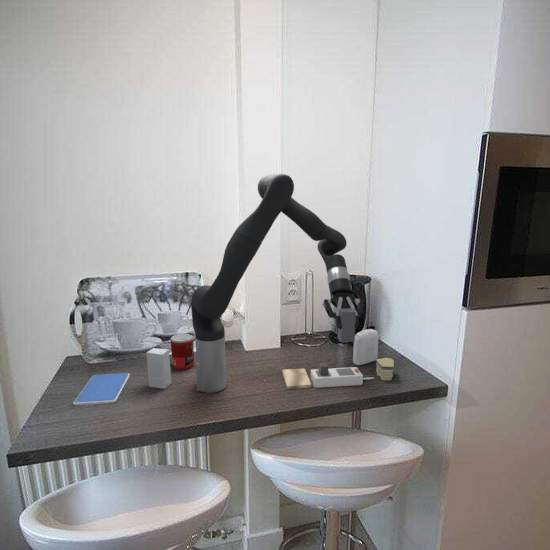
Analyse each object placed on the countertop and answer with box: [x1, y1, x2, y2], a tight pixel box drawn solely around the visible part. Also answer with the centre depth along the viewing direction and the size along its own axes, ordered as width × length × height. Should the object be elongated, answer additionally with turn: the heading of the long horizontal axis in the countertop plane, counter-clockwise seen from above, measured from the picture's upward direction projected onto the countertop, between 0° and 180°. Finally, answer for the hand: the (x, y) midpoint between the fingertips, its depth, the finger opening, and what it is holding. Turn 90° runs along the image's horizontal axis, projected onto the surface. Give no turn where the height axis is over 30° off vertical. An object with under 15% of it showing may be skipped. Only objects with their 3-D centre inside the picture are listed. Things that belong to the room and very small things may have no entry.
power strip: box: [310, 362, 375, 389], centre depth 131 cm, size 21×6×6 cm, turn 97°
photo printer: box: [352, 328, 380, 366], centre depth 146 cm, size 10×4×12 cm, turn 123°
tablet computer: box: [72, 372, 131, 406], centre depth 128 cm, size 19×13×1 cm, turn 7°
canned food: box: [170, 333, 195, 371], centre depth 143 cm, size 8×8×11 cm
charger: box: [337, 308, 357, 343], centre depth 128 cm, size 4×4×10 cm
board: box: [281, 368, 313, 390], centre depth 133 cm, size 8×12×1 cm, turn 7°
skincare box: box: [146, 347, 172, 390], centre depth 128 cm, size 6×4×12 cm
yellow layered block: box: [375, 357, 395, 381], centre depth 135 cm, size 10×9×6 cm
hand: (348, 328), depth 126 cm, fingers closed on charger, 4 cm apart
